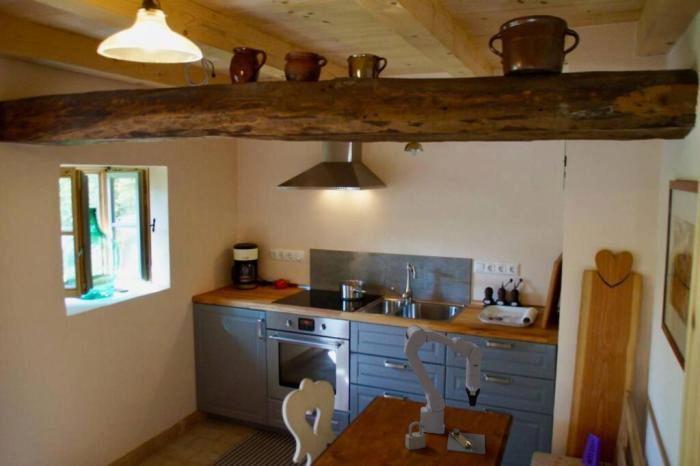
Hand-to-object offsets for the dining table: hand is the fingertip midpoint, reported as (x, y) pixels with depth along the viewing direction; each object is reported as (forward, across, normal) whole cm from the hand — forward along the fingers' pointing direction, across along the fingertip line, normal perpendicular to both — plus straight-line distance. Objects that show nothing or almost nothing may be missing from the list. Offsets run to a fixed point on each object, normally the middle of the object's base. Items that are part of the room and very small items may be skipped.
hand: (472, 405), depth 234 cm
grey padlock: (+10, -22, +21) cm, 32 cm away
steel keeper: (+9, -19, 0) cm, 21 cm away
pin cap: (+7, -11, +6) cm, 14 cm away
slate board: (+9, -15, +2) cm, 18 cm away
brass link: (+9, -15, +4) cm, 17 cm away
